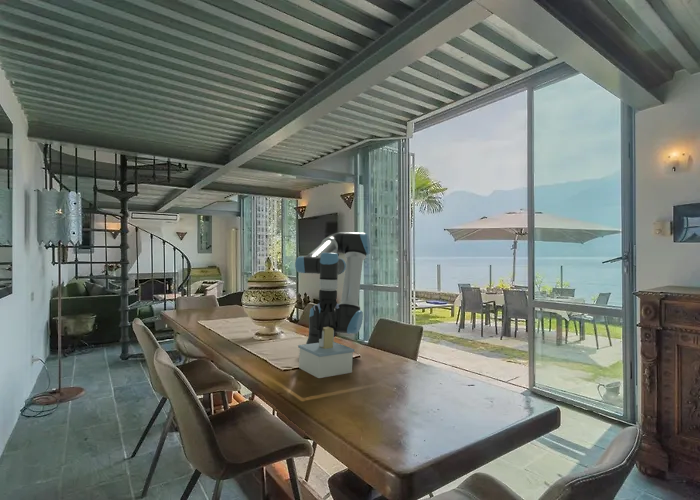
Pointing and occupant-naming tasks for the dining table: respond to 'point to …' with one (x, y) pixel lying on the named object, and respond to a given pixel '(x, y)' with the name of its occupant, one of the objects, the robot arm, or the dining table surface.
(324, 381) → the dining table surface
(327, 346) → the lid
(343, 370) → the box
